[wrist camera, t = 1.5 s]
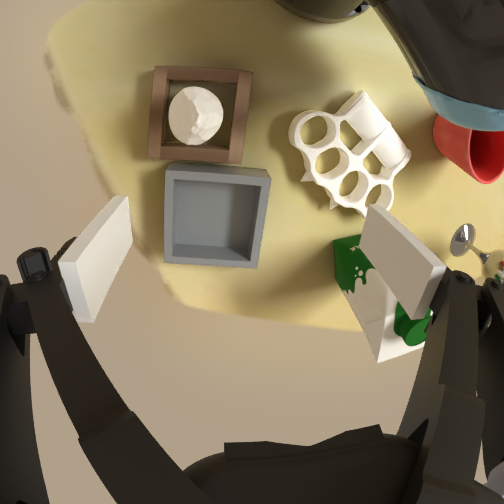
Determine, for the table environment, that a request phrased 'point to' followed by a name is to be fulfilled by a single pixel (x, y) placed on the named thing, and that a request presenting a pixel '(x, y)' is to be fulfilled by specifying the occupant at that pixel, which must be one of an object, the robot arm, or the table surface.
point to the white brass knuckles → (353, 152)
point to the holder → (199, 152)
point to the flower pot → (471, 149)
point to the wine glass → (478, 253)
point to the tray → (214, 214)
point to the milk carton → (376, 303)
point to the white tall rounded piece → (195, 115)
